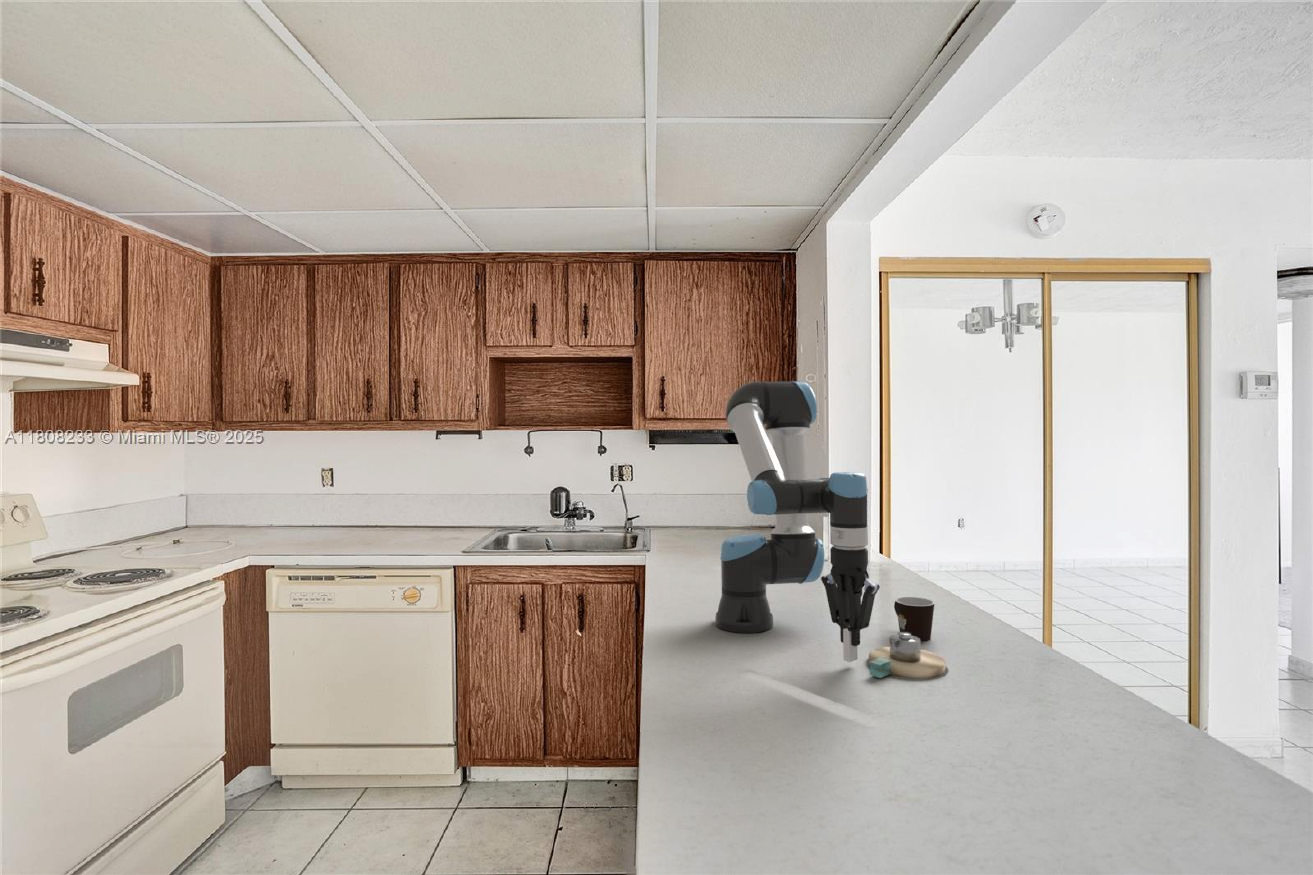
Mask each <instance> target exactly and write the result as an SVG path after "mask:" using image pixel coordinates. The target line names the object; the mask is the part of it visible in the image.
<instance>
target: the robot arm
mask: <svg viewBox="0 0 1313 875" xmlns="http://www.w3.org/2000/svg"><path fill="white" fill-rule="evenodd" d="M817 403H818V402H817V398H816V395H815V393H814V390H813V389H812V388H811V386H810V384H809V383H807V382H804V381H793V380H788V381H787V380H781V381H778V380H776V381H749V382H747V383H745V384H743V385H741V386H739V387H738V388H737V389H736V390H734V391H733V392H732V394H731V396H730V397H729V399H728V402H727V404H726V406H725V419H726V422H727V425H728V428H729V429H730V430H731V431H732V432H734V433H735V437H736V440H737V443H738V446H739V449H740V451H741V455H742V457H743V460H744V462H745V465H746V468H747V471H748V474H749V476H750V480H751V481H750V482H749V483H748V485H747V490H746V500H747V506H748V509H749V511H750V513H752V514H754V515H766V516H772V515H775V526H774V528H773V529H772V531H770V539H767V537H766V536H765V535H764V534H762V533H748V534H741V535H735V536H731V537H729V538H726V539H725V540H724V541H723V542H722V544H721V551H720V562H721V563H720V564H721V565H720V566H721V567H720V570H721V571H720V572H721V574H720V575H721V597H720V600H719V604H718V607H717V612H716V613H715V618H714V620H715V626H716V627H717V628H719V629H721V630H723V631H727V632H732V633H740V634H741V633H742V634H746V633H747V634H753V633H762V632H765V631H768V630H771V629H772V628H773V627H774V615H773V613H771V609H770V605H769V601H768V597H767V585H783V584H799V585H802V584H805V583H806V584H807V583H814V582H816V581H817V580H818V579H819V578H820V580H821V582H822V584H823V586H824V589H825V594H826V599H827V603H828V609H829V614H830V618H831V619H830V620H831V622H832V623H833V624H837V625H838V626H839V628H840V633H839V634H840V642H841V643H842V645H843V646H842V647H843V650H842V651H843V661H844V662H848V663H851V662H854V661H857V660H858V646H860V644H861V630H864V629H866V628H869V627H870V623H871V617H872V612H873V607H874V602H875V598H876V595H877V593H878V591H879V590H880V584H878V583H874V582H873V581H872V580H871V579H870V574H869V573H868V565H869V550H868V548H867V546H868V545H869V530H868V528H869V527H868V493H869V490H868V482H867V477H866V475H865V474H864V473H862V472H858V471H857V472H856V471H852V472H851V471H838V472H833V473H831V474H830V476H829V477H820V478H817V479H807V463H806V462H807V461H806V459H807V458H806V440H805V439H806V438H805V437H806V435H807V434H808V433H809V432H810V430H811V428H810V427H811V426H810V425H812V424H814V423H815V422H816V420H817V414H818V405H817ZM765 426H766V427H765ZM770 437H771V439H772V441H771V439H770ZM809 514H829V527H830V528H829V530H830V531H829V532H830V534H829V535H830V536H829V537H830V539H829V540H830V541H829V542H830V545H832V546H830V550H829V551H830V556H829V557H830V558H829V559H830V564H831V565H832V566H831V568H830V573H828V574H827V575H823V576H821V575H822V572H823V569H824V565H825V548H824V542H823V541H822V540H821V539H820V538H819V537H816V531H815V530H814V529H813V528H812V527H811V526H810V524H809V523H810V521H809V518H810V517H809ZM863 591H864V592H863Z"/></svg>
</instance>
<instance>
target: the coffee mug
mask: <svg viewBox="0 0 1313 875" xmlns="http://www.w3.org/2000/svg"><path fill="white" fill-rule="evenodd" d="M893 608H894V611H895V612H894V613H895V614H896V616H897V621H898V627H899V628H898V630H899V633H900V632H907V633H910V634H911V636H915V637H918V638H919V639H920V643H921V642H922V643H923V642H929V641H931V636H932V628H933V622H934V621H933V620H934V611H935V601H934V600H931V599H930V598H929V599H928V598H924V597H918V596H917V597H916V596H903V597H902V596H901V597H897V598H896V599H895V601H894V604H893Z"/></svg>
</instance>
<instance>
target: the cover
mask: <svg viewBox="0 0 1313 875" xmlns="http://www.w3.org/2000/svg"><path fill="white" fill-rule="evenodd" d="M889 647H890V658H892V659H893V660H896V661H899V662H906V663H914V662H919V661H920V660H921V650H922V649H921V642H920V639H919V638H918V637H915V636H911V634H910V633H907V632H900V631H899V632H898V634H893V635H890V636H889ZM920 649H921V650H920Z"/></svg>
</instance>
